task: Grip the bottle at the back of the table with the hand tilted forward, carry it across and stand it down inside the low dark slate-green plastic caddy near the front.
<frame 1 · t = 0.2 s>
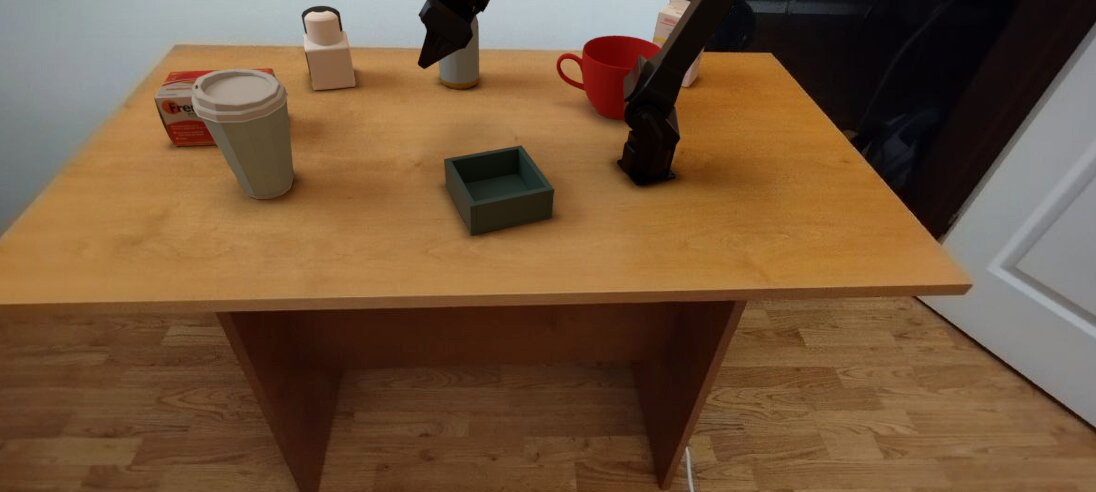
hand: (429, 51, 76), 15 cm above the table, tool tilted 35°, fingers open, 9 cm apart
caddy: (497, 201, 77), on the table
ink cartridge box: (670, 78, 108), on the table
medicine box: (233, 132, 88), on the table
disposable coffee cup: (269, 188, 78), on the table
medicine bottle: (333, 81, 102), on the table
bottle: (459, 82, 103), on the table
ceramic cup: (602, 109, 98), on the table
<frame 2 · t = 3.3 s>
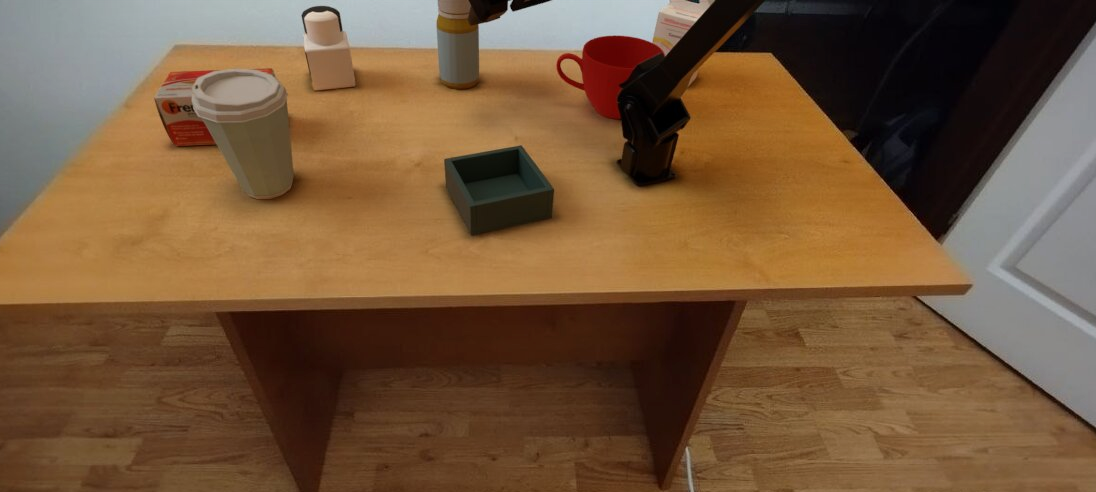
hand: (491, 15, 90), 14 cm above the table, tool tilted 45°, fingers open, 9 cm apart
nothing on the table moved.
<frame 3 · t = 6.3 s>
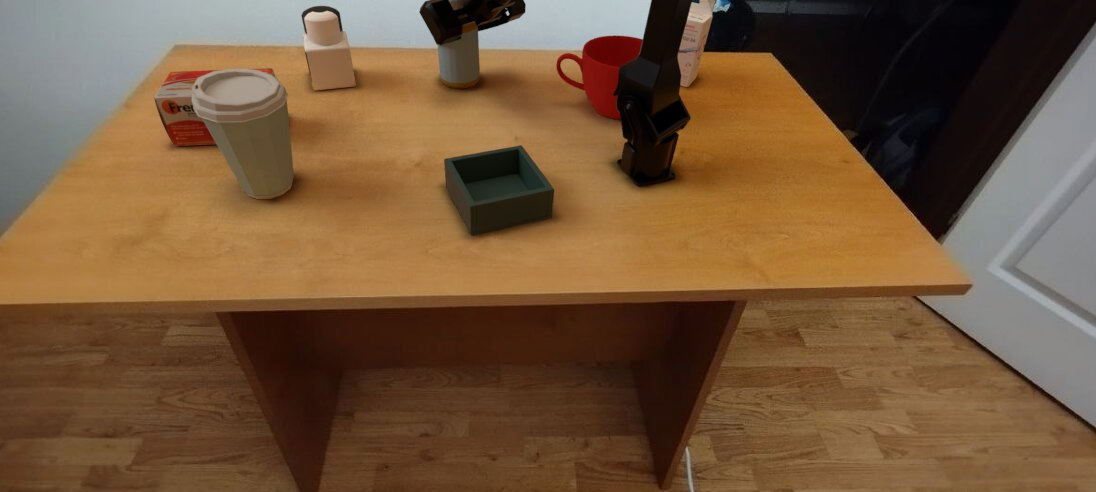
hand: (452, 36, 99), 8 cm above the table, tool tilted 45°, fingers closed on bottle, 7 cm apart
bottle: (460, 82, 103), on the table, touching gripper
everything else where it was.
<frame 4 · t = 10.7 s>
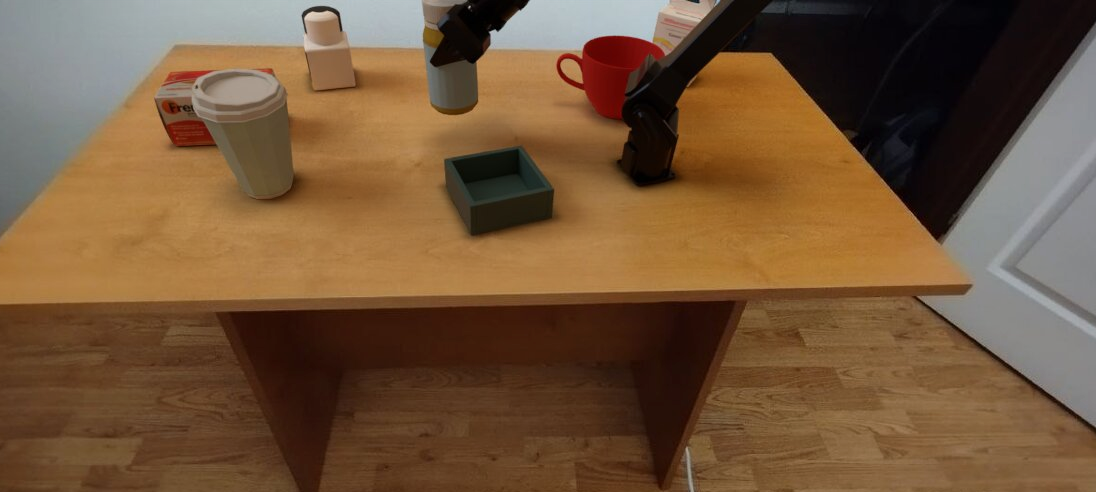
hand: (441, 53, 79), 13 cm above the table, tool tilted 45°, fingers closed on bottle, 7 cm apart
bottle: (454, 106, 85), point 6 cm above the table, touching gripper
everything else where it was.
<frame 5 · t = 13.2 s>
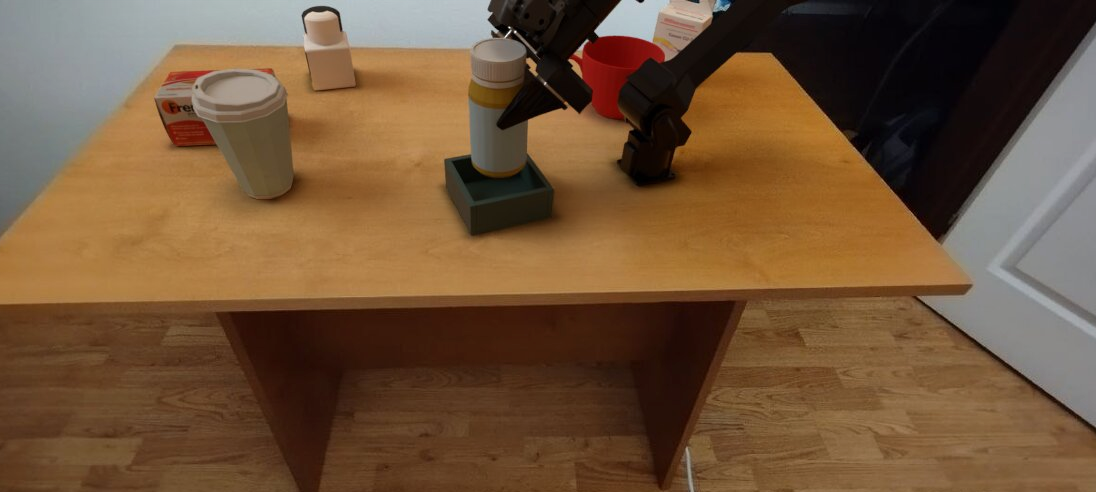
hand: (488, 113, 68), 13 cm above the table, tool tilted 45°, fingers closed on bottle, 7 cm apart
bottle: (499, 165, 74), point 5 cm above the table, touching gripper
everything else where it was.
when the fingers open (8 cm above the table, at t = 15.3 s): bottle stays where it is, resting on caddy.
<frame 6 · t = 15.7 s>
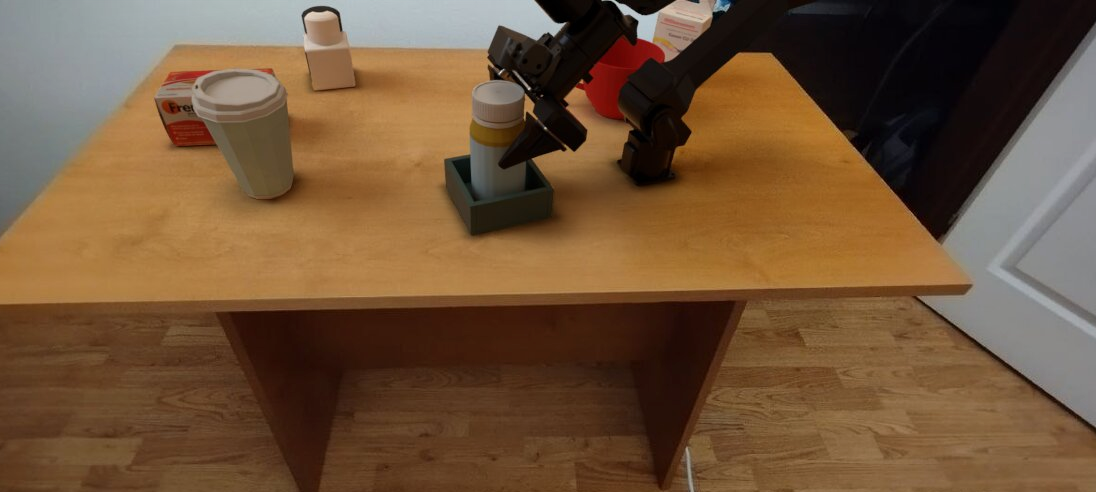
hand: (487, 147, 71), 9 cm above the table, tool tilted 45°, fingers open, 9 cm apart
bottle: (498, 198, 77), resting on caddy, touching gripper
everything else where it was.
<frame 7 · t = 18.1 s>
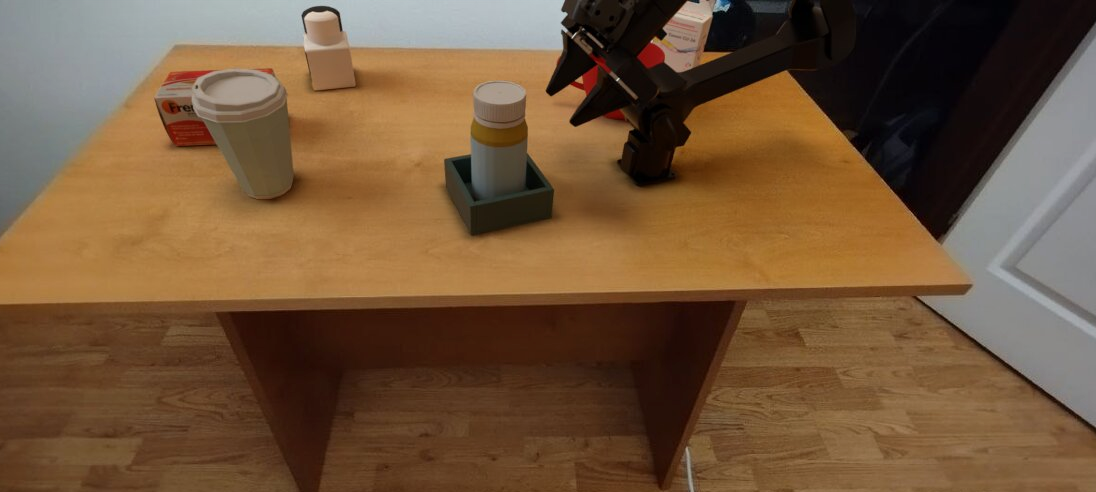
hand: (559, 108, 72), 12 cm above the table, tool tilted 40°, fingers open, 9 cm apart
bottle: (498, 198, 77), resting on caddy
everything else where it was.
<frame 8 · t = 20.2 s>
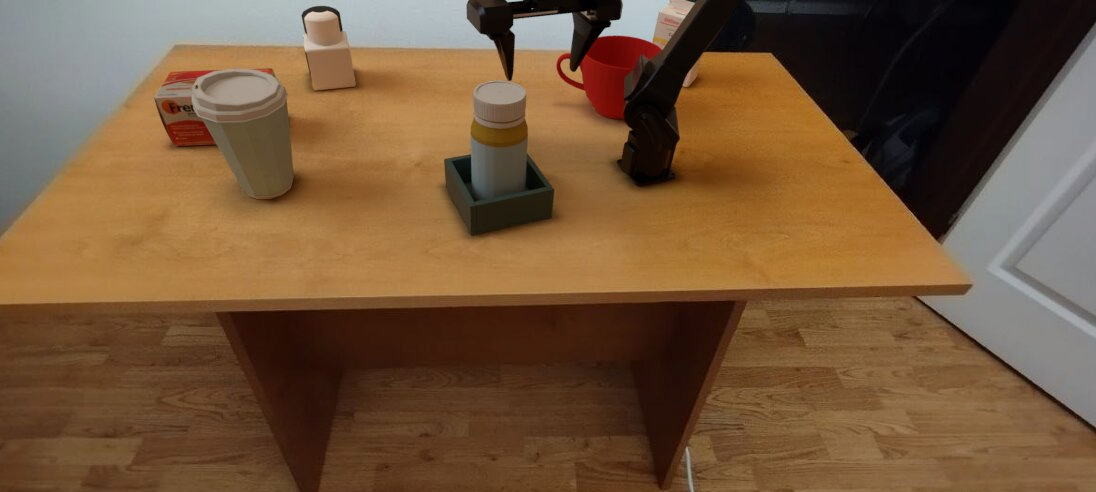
hand: (541, 75, 76), 13 cm above the table, tool pointing down, fingers open, 9 cm apart
nothing on the table moved.
at the end: bottle inside the target area in the caddy (0.3 cm from its centre), point 0.3 cm above the caddy's base; bottle tilted 0°; the gripper is holding nothing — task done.
